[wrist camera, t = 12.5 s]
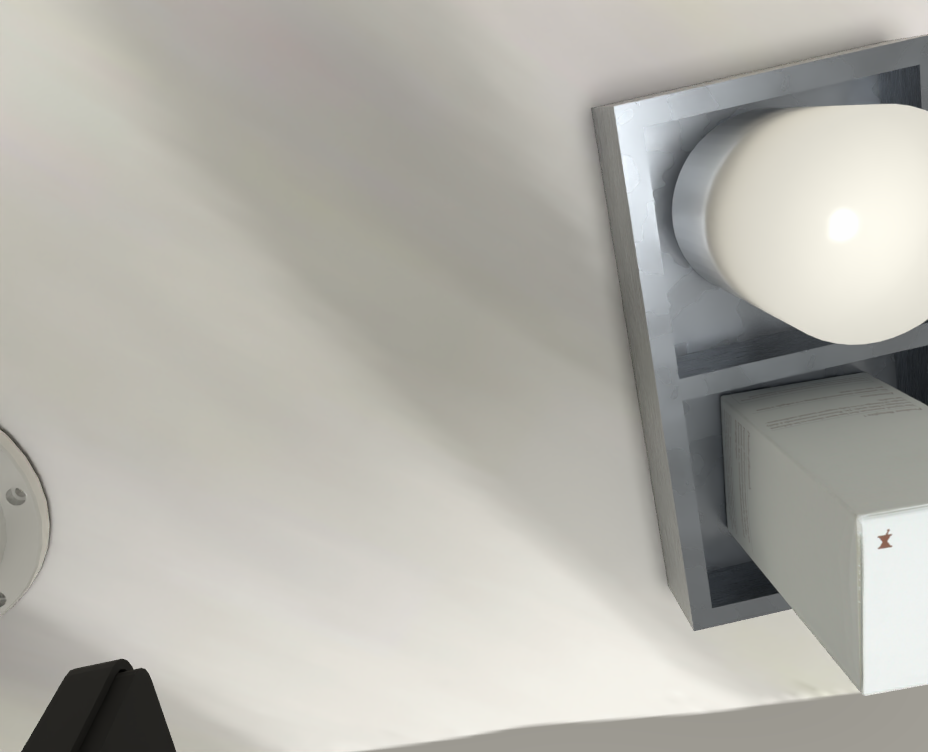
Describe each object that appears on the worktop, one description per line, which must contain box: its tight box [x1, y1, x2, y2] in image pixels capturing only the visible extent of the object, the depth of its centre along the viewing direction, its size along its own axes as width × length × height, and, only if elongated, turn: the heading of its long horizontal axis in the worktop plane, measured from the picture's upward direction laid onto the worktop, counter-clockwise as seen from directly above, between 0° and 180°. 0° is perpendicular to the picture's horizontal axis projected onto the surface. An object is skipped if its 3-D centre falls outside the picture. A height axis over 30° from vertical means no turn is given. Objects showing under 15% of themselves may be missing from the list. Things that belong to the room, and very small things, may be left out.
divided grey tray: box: [592, 34, 928, 631], centre depth 37 cm, size 13×24×4 cm, turn 12°
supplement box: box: [721, 372, 928, 696], centre depth 34 cm, size 7×7×13 cm
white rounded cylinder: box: [672, 104, 928, 345], centre depth 32 cm, size 8×8×9 cm
